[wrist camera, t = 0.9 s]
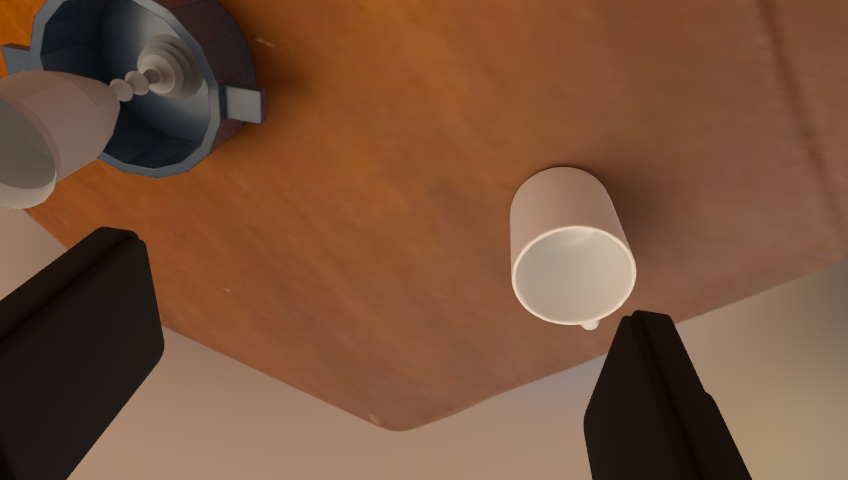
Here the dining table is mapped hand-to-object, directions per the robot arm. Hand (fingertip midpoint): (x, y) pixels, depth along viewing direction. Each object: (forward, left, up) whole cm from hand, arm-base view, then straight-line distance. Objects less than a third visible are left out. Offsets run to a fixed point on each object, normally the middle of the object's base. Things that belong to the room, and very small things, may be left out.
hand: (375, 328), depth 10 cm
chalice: (+6, -23, -33) cm, 41 cm away
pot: (+6, -23, -33) cm, 41 cm away
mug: (+14, +11, -33) cm, 38 cm away
